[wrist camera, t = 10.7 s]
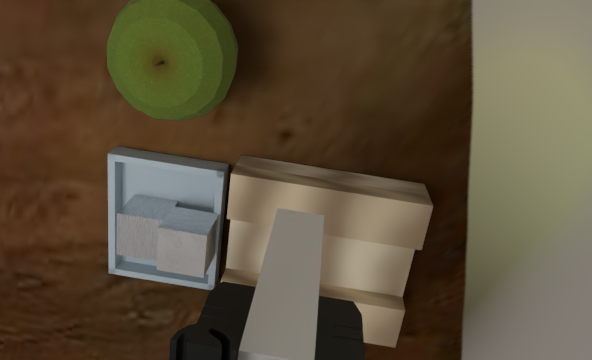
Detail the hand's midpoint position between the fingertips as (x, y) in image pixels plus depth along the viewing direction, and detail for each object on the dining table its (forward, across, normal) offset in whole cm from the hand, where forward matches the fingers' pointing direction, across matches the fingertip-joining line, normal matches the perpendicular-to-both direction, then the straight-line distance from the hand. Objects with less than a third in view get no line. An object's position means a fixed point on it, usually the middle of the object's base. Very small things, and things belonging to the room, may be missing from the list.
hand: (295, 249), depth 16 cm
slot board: (+26, +2, -14) cm, 30 cm away
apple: (+27, -10, +2) cm, 28 cm away
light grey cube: (+24, -9, -14) cm, 30 cm away
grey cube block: (+24, -11, -14) cm, 30 cm away
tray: (+26, -12, -14) cm, 32 cm away
